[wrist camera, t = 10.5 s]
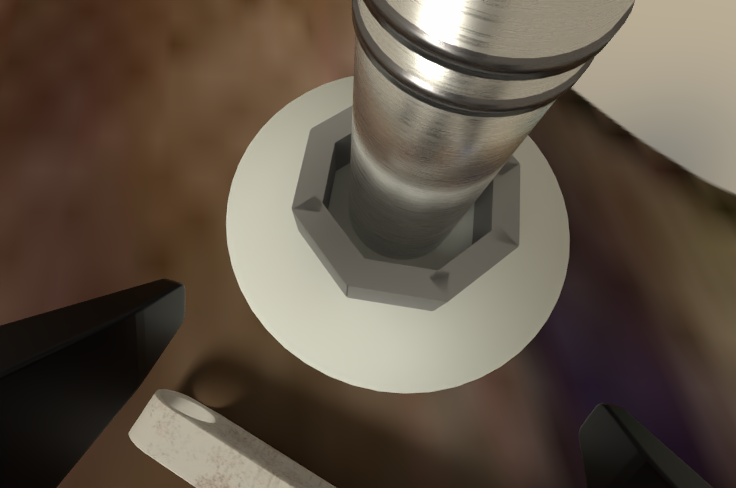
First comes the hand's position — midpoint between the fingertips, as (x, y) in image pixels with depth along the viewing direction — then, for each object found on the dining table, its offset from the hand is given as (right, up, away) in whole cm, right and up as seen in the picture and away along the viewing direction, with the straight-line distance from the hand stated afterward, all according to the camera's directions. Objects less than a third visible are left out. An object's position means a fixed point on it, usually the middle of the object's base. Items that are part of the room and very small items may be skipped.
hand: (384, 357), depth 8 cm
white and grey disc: (+1, +4, +12) cm, 13 cm away
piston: (+1, +4, +11) cm, 11 cm away
